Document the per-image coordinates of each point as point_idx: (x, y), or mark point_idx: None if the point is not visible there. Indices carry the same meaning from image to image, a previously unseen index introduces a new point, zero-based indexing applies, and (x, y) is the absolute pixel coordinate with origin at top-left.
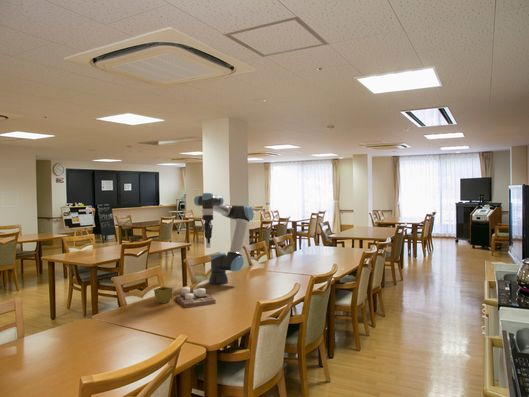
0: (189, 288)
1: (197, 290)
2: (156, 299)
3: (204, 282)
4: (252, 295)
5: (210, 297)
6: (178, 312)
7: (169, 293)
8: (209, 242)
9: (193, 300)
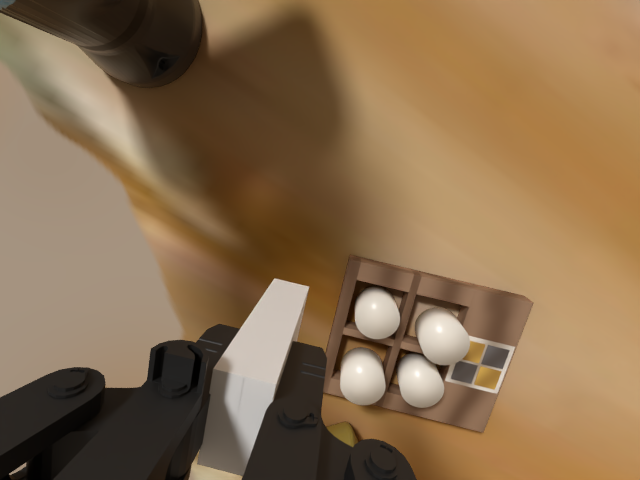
0: (382, 376)
1: (443, 363)
2: None
3: (94, 94)
4: (556, 50)
5: (479, 298)
6: (515, 467)
7: None
8: (323, 368)
9: (466, 383)
